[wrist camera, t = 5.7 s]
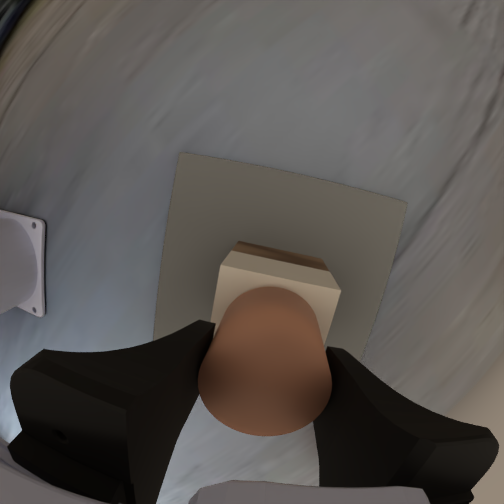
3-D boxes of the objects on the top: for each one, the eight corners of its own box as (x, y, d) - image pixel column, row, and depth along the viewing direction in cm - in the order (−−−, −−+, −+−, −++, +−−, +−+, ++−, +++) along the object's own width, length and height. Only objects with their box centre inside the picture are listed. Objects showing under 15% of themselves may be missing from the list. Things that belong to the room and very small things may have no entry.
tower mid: (214, 339, 17) (202, 367, 14) (231, 250, 16) (220, 264, 13) (304, 357, 16) (308, 388, 14) (329, 271, 15) (341, 290, 12)
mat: (153, 355, 21) (151, 357, 21) (181, 152, 18) (179, 152, 18) (343, 394, 21) (344, 397, 20) (405, 202, 18) (407, 202, 17)
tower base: (223, 317, 20) (214, 339, 17) (238, 240, 19) (231, 250, 16) (301, 334, 19) (304, 357, 16) (321, 258, 18) (329, 271, 15)
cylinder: (217, 366, 13) (195, 425, 9) (225, 279, 12) (201, 320, 8) (308, 378, 13) (315, 441, 9) (327, 293, 12) (346, 339, 8)
